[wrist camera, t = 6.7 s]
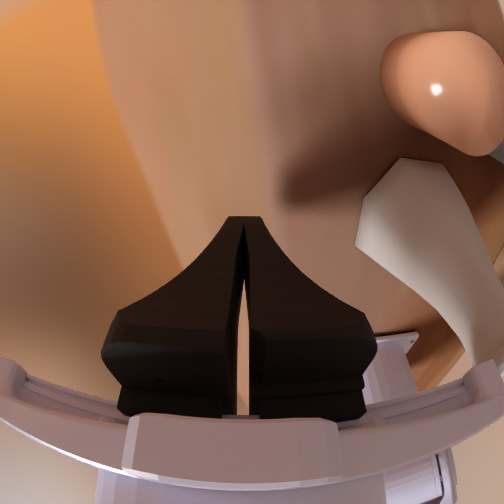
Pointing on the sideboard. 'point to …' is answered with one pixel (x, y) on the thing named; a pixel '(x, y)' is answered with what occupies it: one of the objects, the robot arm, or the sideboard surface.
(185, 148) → the sideboard surface
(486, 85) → the peach egg shape
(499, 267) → the walnut rail
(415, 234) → the flask
